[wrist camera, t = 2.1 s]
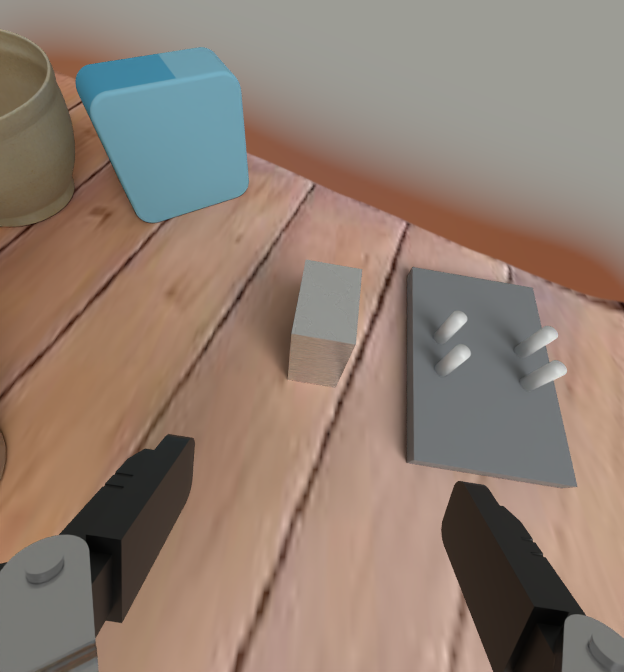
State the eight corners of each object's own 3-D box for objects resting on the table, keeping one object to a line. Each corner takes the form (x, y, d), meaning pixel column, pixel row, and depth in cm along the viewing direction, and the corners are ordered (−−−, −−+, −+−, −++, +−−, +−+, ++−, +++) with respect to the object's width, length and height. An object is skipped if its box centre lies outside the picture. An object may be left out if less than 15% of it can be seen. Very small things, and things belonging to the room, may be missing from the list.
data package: (233, 170, 39) (217, 43, 28) (250, 194, 37) (240, 68, 27) (128, 200, 35) (65, 66, 25) (143, 228, 34) (81, 97, 23)
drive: (287, 379, 27) (290, 333, 20) (298, 318, 30) (305, 259, 23) (336, 387, 27) (356, 344, 20) (342, 326, 30) (362, 269, 23)
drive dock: (406, 462, 25) (434, 452, 21) (407, 276, 34) (426, 241, 29) (561, 488, 25) (621, 483, 21) (522, 296, 34) (559, 264, 29)
